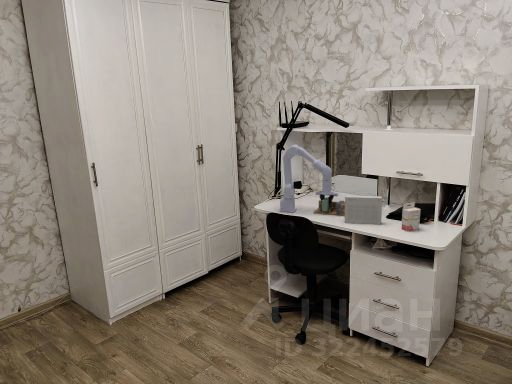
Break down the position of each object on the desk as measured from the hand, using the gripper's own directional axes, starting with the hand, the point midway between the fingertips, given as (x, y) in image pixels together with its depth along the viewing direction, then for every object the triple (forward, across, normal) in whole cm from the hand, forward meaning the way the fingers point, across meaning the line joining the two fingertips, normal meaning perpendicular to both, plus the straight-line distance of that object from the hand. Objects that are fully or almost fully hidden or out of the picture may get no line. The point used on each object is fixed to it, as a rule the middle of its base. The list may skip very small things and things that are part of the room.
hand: (326, 206), depth 260 cm
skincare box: (+4, +26, -13) cm, 29 cm away
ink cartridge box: (+4, +53, -16) cm, 56 cm away
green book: (+2, 0, 0) cm, 2 cm away
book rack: (+4, +3, 0) cm, 5 cm away
